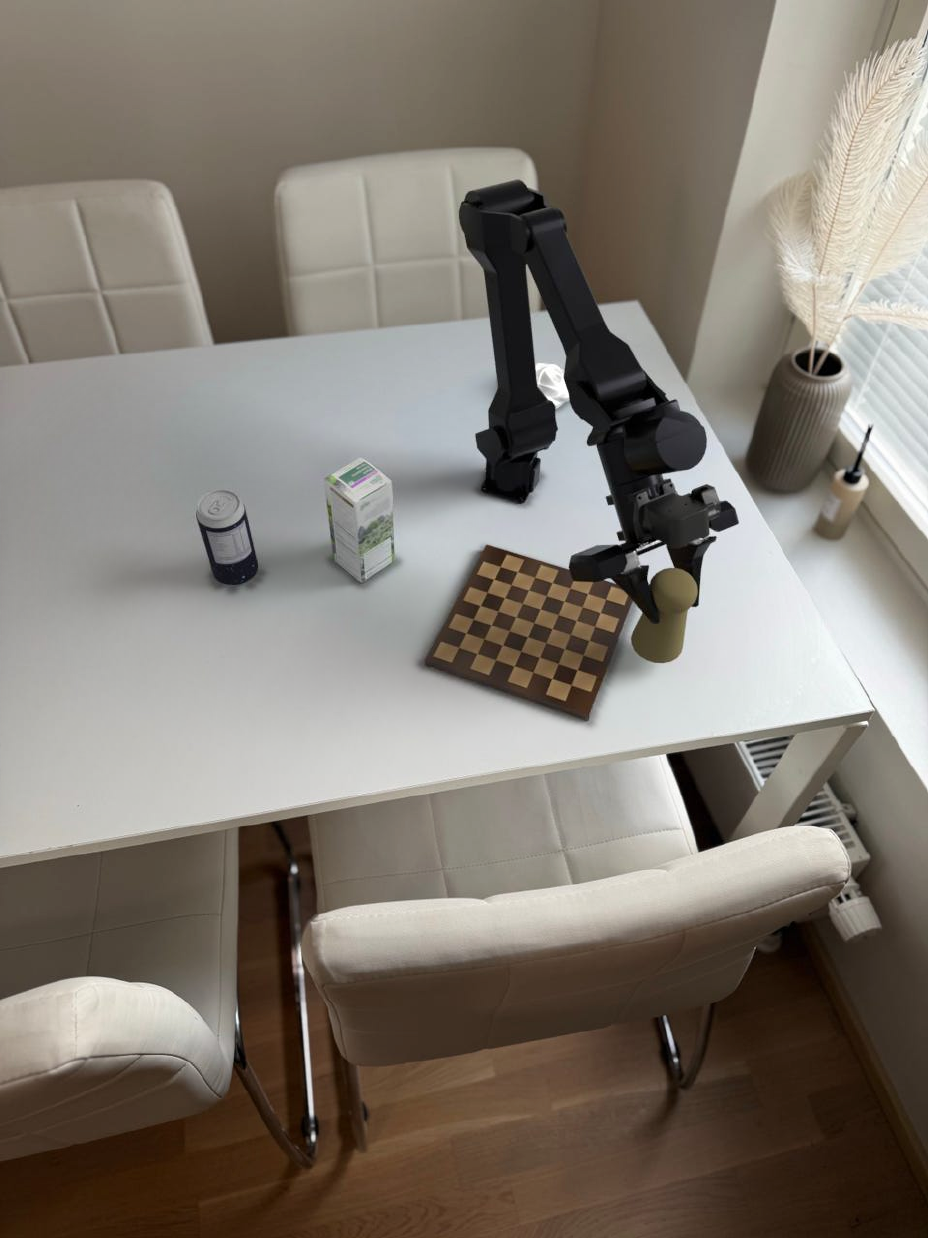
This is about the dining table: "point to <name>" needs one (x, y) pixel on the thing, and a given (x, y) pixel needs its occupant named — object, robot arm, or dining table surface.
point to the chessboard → (532, 632)
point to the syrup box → (360, 519)
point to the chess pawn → (666, 616)
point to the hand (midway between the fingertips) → (675, 615)
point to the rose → (552, 383)
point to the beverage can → (227, 537)
